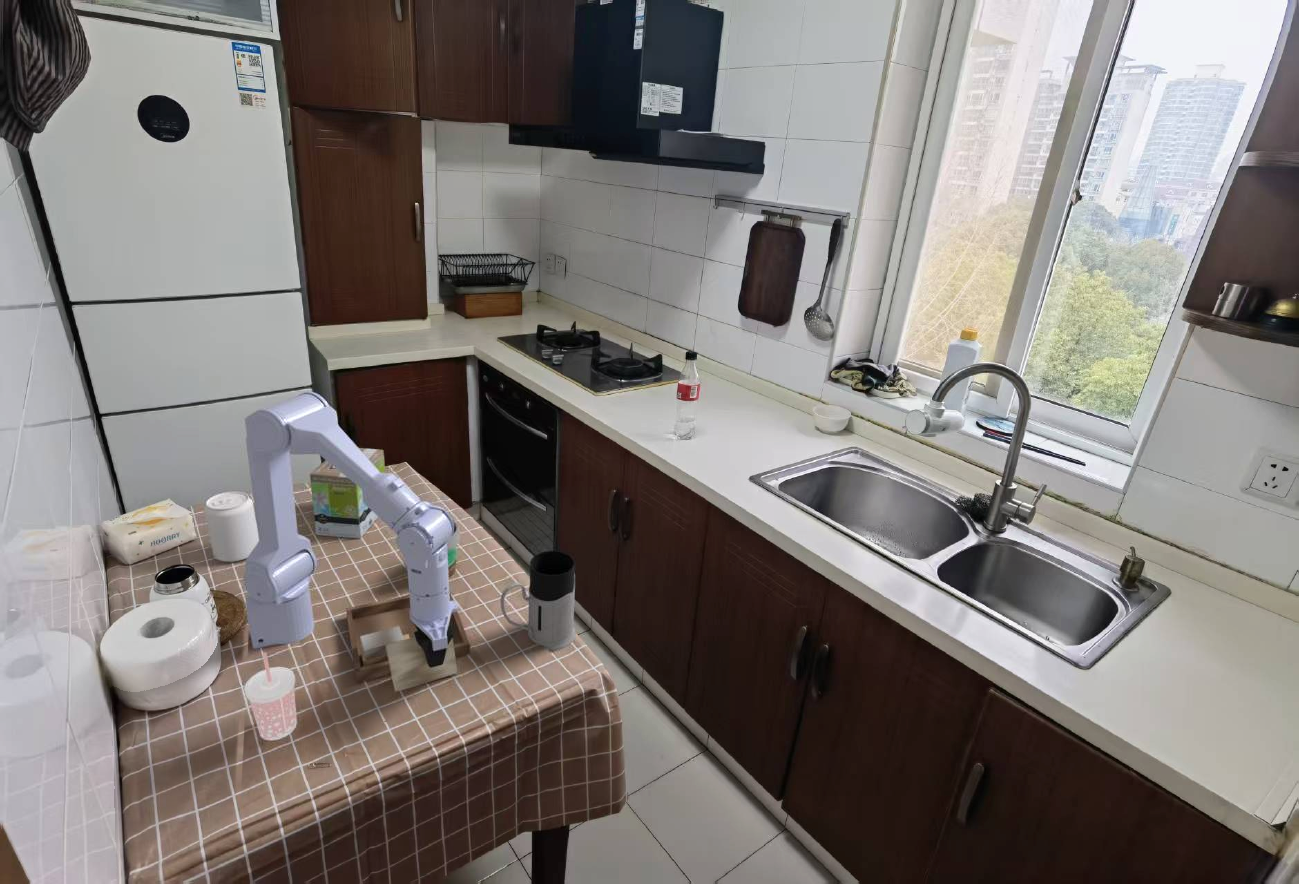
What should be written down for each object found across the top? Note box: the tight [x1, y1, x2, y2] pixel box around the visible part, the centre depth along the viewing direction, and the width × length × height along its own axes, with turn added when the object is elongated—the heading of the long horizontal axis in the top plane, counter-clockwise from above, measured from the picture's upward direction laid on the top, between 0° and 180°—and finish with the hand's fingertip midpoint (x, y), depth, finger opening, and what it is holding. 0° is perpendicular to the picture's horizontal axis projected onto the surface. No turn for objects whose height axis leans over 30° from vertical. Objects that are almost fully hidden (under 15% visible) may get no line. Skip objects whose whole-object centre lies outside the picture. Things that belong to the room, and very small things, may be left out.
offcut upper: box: [360, 626, 404, 661], centre depth 108 cm, size 6×4×2 cm, turn 121°
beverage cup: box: [243, 651, 298, 741], centre depth 93 cm, size 6×6×14 cm
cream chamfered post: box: [386, 637, 459, 692], centre depth 105 cm, size 10×3×7 cm, turn 117°
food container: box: [445, 519, 461, 578], centre depth 131 cm, size 12×6×10 cm, turn 168°
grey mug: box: [500, 550, 577, 652], centre depth 114 cm, size 9×14×15 cm, turn 132°
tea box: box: [309, 447, 386, 539], centre depth 146 cm, size 15×10×15 cm
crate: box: [345, 589, 471, 684], centre depth 115 cm, size 18×17×3 cm
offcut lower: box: [360, 634, 410, 667], centre depth 109 cm, size 8×4×2 cm, turn 117°
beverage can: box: [203, 491, 259, 563], centre depth 132 cm, size 8×8×12 cm
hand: (433, 657), depth 106 cm, fingers closed on cream chamfered post, 3 cm apart
